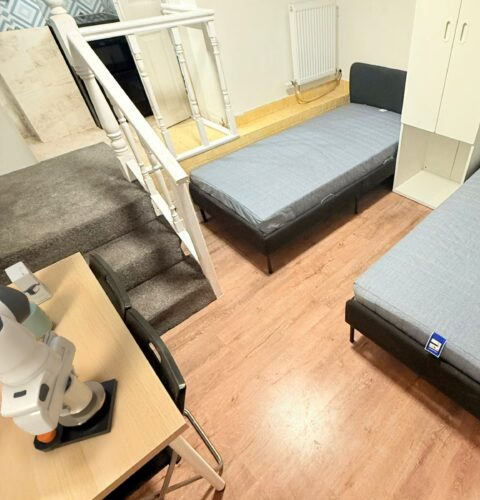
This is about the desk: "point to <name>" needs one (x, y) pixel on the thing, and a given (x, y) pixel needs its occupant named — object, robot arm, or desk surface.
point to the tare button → (47, 436)
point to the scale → (87, 430)
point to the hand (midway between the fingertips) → (71, 395)
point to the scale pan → (89, 410)
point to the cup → (37, 321)
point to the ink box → (28, 283)
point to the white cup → (76, 395)
